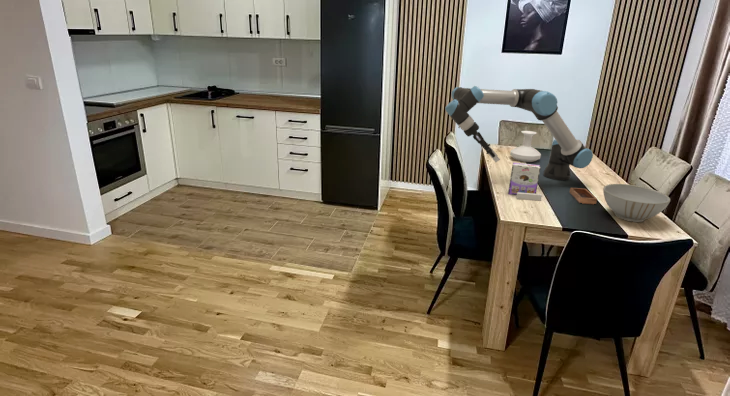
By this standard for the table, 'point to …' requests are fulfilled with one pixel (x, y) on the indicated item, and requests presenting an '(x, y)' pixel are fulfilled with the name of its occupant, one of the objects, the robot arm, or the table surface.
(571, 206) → the table surface
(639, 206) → the decorative bowl
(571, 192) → the tray
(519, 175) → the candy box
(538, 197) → the walled channel
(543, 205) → the table surface
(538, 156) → the candle holder
